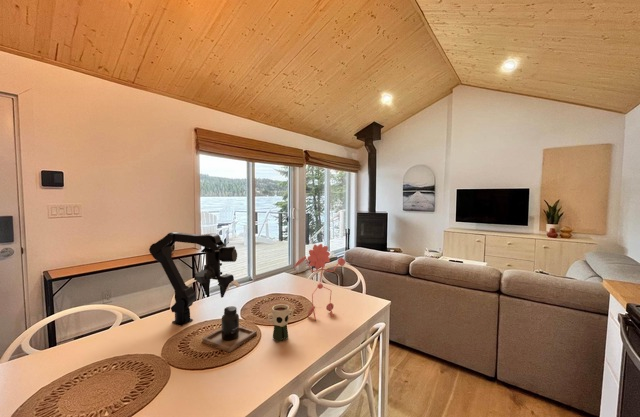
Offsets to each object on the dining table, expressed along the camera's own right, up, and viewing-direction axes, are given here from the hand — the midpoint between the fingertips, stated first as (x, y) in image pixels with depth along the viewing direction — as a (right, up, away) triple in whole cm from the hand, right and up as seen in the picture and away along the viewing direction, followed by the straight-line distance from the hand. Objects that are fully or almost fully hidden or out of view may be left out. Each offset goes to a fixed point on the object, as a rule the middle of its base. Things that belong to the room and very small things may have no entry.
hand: (214, 296), depth 126 cm
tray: (+11, -14, -12) cm, 21 cm away
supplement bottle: (+11, -13, -12) cm, 21 cm away
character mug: (+32, -14, -11) cm, 36 cm away
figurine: (+47, -13, +13) cm, 50 cm away
